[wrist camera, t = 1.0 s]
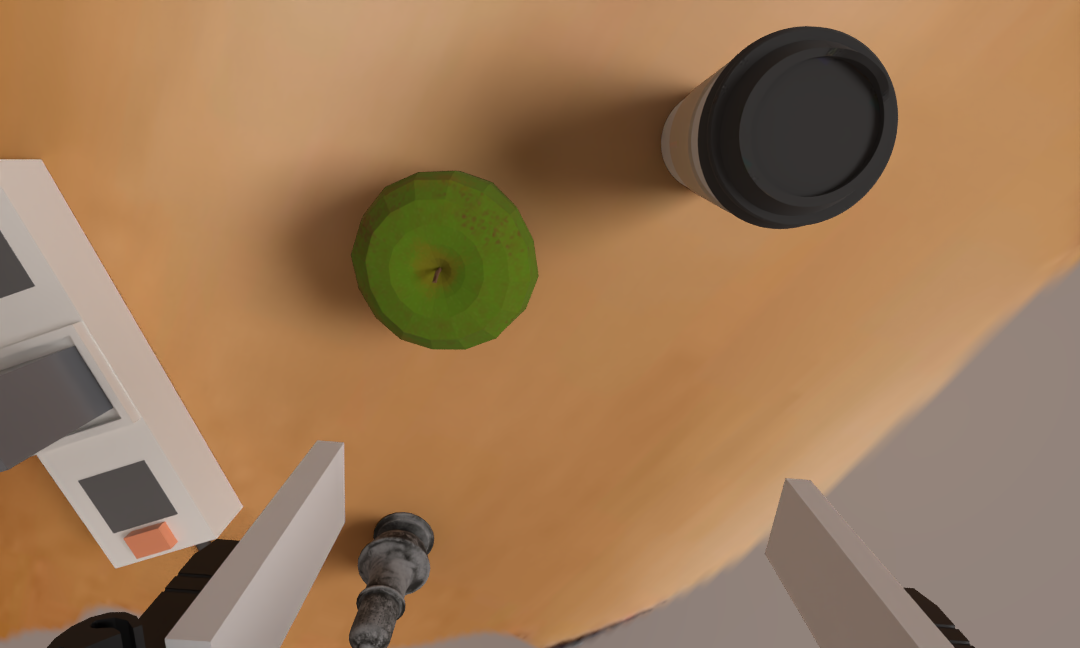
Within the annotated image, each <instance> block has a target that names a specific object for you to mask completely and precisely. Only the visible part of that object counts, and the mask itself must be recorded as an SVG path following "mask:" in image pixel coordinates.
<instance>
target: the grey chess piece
mask: <svg viewBox="0 0 1080 648" xmlns="http://www.w3.org/2000/svg"><path fill="white" fill-rule="evenodd" d="M373 538H374V540H373V541H372V542H371V543H369V544H367V546H366V547H365V548H364V549H363V550H362V552H361V554H360V556H359V558H358V570H359V574H360V576H361V578H362V579H363V581H364V582H365V583H366V584H367V586H366V589H364V590H363V591H362V592H361V593H360V594H359V596H358V598H357V603H356V604H357V609H358V612H357V615H356V617H355V620H354V622H353V625H352V627H351V630H350V634H349V642H350V645H351V647H352V648H387V646H388V645H389V643H390V640H391V637H392V633H393V630H394V627H395V623H396V620H398V619H399V618H400V617H401V616H402V615H403V613H404V611H405V600H404V597H405V595H407V594H411V593H413V592H415V591H417V590H418V589H420V588H421V587H422V586H423V585H424V584H425V583H426V581H427V579H428V577H429V572H430V564H429V559H428V556H427V555H428V554H429V553H430V551H431V549H432V547H433V543H434V535H433V531H432V529H431V527H430V526H429V524H428V523H427V522H426V521H425V520H423V519H422V518H420V517H419V516H417V515H414V514H411V513H405V512H401V513H393V514H390V515H388V516H386V517H384V518H383V519H382V520H381V521H380V522H379V523H378V524H377V526H376V528H375V530H374V537H373Z"/></svg>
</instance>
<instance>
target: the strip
mask: <svg viewBox="0 0 1080 648" xmlns="http://www.w3.org/2000/svg"><path fill="white" fill-rule="evenodd" d="M72 346H75V347H76V348H77V350H78V352H79V353H80V355H81V356H82V358H83V360H84V361H85V363H86V364H87V366H88V367H89V369H90V371H91V372H92V374H93V375H94V377H95V379H96V380H97V382H98V383H99V385H100V387H101V388H102V390H103V391H104V393H105V395H106V396H107V398H108V399H109V401H110V403H111V404H112V406H113V407H114V408H112V409H110V410H109V411H107V412H105V413H104V414H102V415H100V416H98V417H97V418H95V419H93V420H92V421H90V422H88V423H87V424H85V425H83V426H82V427H80V428H78V429H76V430H75V431H73V432H71V433H70V434H68V435H66V436H65V437H63V438H61V439H59V440H58V441H56V442H54V443H53V444H51V445H49V446H48V447H46V448H44V449H43V450H41V451H39V452H37V453H36V454H34V455H37V456H38V458H39V459H40V461H41V462H42V464H43V465H44V466H45V468H46V469H47V471H48V472H49V474H50V475H51V476H52V478H53V479H54V481H55V482H56V484H57V485H58V487H59V488H60V489H61V491H62V492H63V494H64V495H65V497H66V498H67V500H68V501H69V502H70V504H71V505H72V507H73V508H74V510H75V511H76V512H77V514H78V515H79V517H80V518H81V520H82V521H83V523H84V524H85V525H86V527H87V528H88V530H89V531H90V533H91V534H92V535H93V537H94V538H95V540H96V541H97V543H98V544H99V546H100V547H101V548H102V550H103V551H104V553H105V554H106V556H107V557H108V559H109V560H110V561H111V563H112V564H113V566H114V567H115V568H119V567H122V566H126V565H129V564H132V563H136V562H139V561H143V560H146V559H149V558H153V557H156V556H159V555H163V554H166V553H170V552H173V551H176V550H180V549H183V548H187V547H190V546H193V545H196V547H197V548H198V550H199V551H200V550H201V549H203V548H204V547H206V546H207V545H209V544H210V543H211V542H210V540H214V539H217V538H218V536H219V535H220V534H221V533H222V532H223V530H224V529H225V528H226V527H227V526H228V524H229V523H230V522H231V521H232V520H233V518H234V517H235V516H236V515H237V514H238V512H239V511H240V510H241V509H242V508H243V506H242V504H241V502H240V500H239V499H238V497H237V495H236V494H235V492H234V490H233V488H232V487H231V485H230V483H229V482H228V480H227V478H226V476H225V475H224V473H223V471H222V470H221V468H220V466H219V464H218V463H217V461H216V459H215V457H214V456H213V454H212V452H211V451H210V449H209V447H208V445H207V444H206V442H205V440H204V439H203V437H202V435H201V433H200V432H199V430H198V428H197V426H196V425H195V423H194V421H193V420H192V418H191V416H190V414H189V413H188V411H187V409H186V408H185V406H184V404H183V402H182V401H181V399H180V397H179V395H178V394H177V392H176V390H175V389H174V387H173V385H172V383H171V382H170V380H169V378H168V377H167V375H166V373H165V371H164V370H163V368H162V366H161V365H160V363H159V361H158V359H157V358H156V356H155V354H154V352H153V351H152V349H151V347H150V346H149V344H148V342H147V340H146V339H145V337H144V335H143V334H142V332H141V330H140V328H139V327H138V325H137V323H136V321H135V320H134V318H133V316H132V315H131V313H130V311H129V309H128V308H127V306H126V304H125V303H124V301H123V299H122V297H121V296H120V294H119V292H118V290H117V289H116V287H115V285H114V284H113V282H112V280H111V278H110V277H109V275H108V273H107V272H106V270H105V268H104V266H103V265H102V263H101V261H100V259H99V258H98V256H97V254H96V253H95V251H94V249H93V247H92V246H91V244H90V242H89V241H88V239H87V237H86V235H85V234H84V232H83V230H82V229H81V227H80V225H79V223H78V222H77V220H76V218H75V216H74V215H73V213H72V211H71V210H70V208H69V206H68V204H67V203H66V201H65V199H64V198H63V196H62V194H61V192H60V191H59V189H58V187H57V185H56V184H55V182H54V180H53V179H52V177H51V175H50V173H49V172H48V170H47V168H46V167H45V165H44V163H43V161H42V160H41V159H0V371H1V370H4V369H7V368H10V367H13V366H16V365H19V364H21V363H24V362H27V361H30V360H33V359H36V358H39V357H42V356H45V355H48V354H51V353H54V352H57V351H60V350H63V349H66V348H69V347H72ZM34 455H32V456H34Z"/></svg>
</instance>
